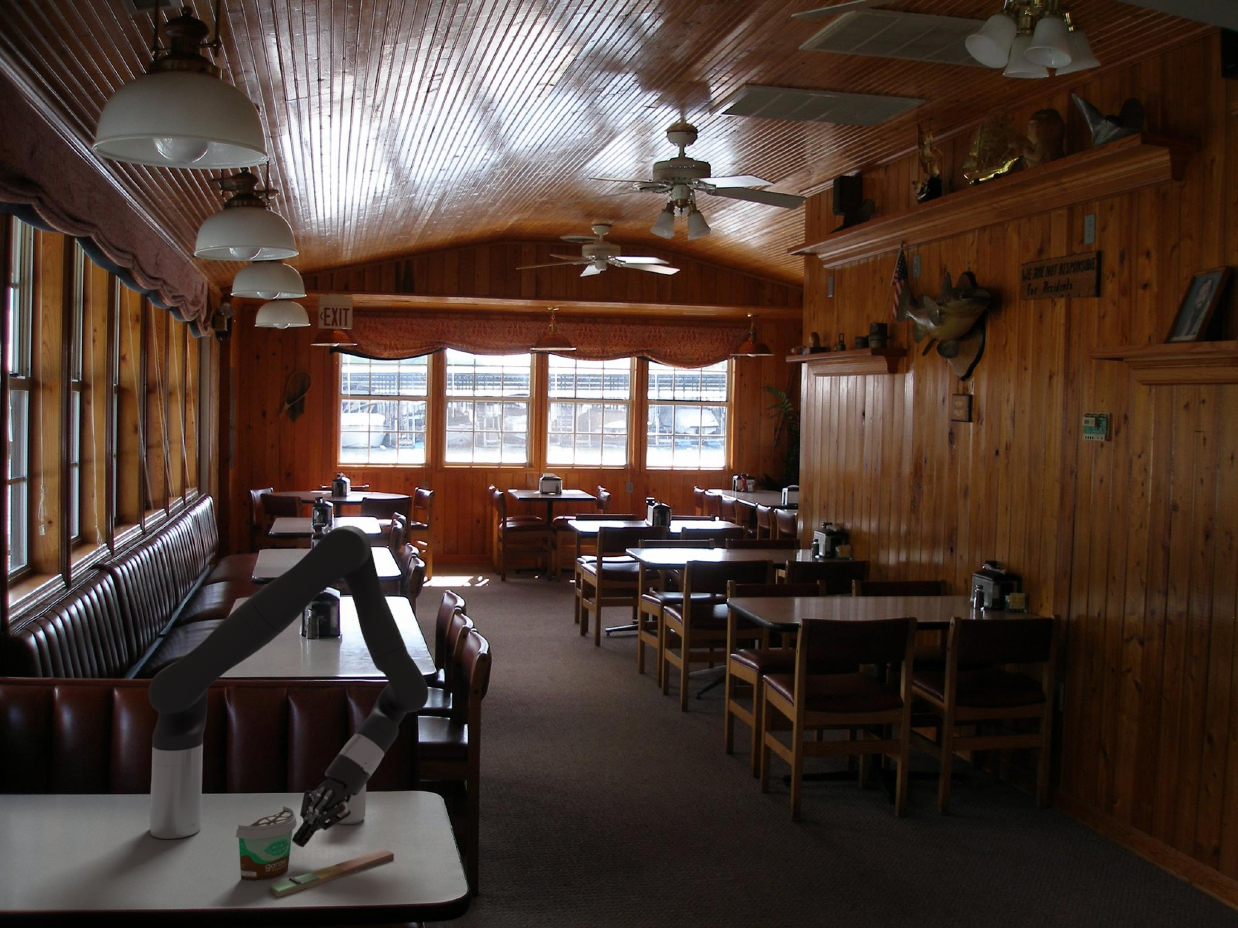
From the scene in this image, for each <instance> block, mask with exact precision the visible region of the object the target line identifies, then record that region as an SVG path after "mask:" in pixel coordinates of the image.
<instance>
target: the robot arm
mask: <svg viewBox="0 0 1238 928" xmlns="http://www.w3.org/2000/svg"><path fill="white" fill-rule="evenodd" d="M376 567H377V566H376V563H375V559H374V554H373V549H372V543H371V540H370V538H369V536H368V534H367V533H366V532H365V531H364V530H363V529H361V528H360V527H358V526H354V525H342V526H339V527H335V528H333V529H330V530H329V531H328V532H327V533H326V534H325V535H324V536H323V537H322V538H321V539H320V540H319V541H318V542H317V543H316V544H315V545H314V546H313V547H312V548H311V549H310V550H309V551H308V553H307V554H306V555H304V556H303V557H302V558H301V559H300V560H299V561H297V563H296V564H295V565H293V566H292V568H290V569H289V570H286V571H285V572H284V573H283V574H281V575H279V576H278V577H277V578H274V579H273V580H271V581H270V582H269V583H267V584H266V585H264V586H263V587H262V588H260V590H258V591H256V592H255V593H254V594H252V595H251V596H250V597H249V598H248V599H246V600H245V601H244V602H243V603H241V604H240V605H239V606H238V607H237V608H236V609H235V610H234V611H233V612H231V613H230V614H229V615H228V616H227V617H226V618H225V619H224V620H223V621H222V622H221V623H219V624H218V626H216V628H215V629H214V630H213V631H212V632H211V633H210V634H209V635H208V636H207V637H206V638H205V639H204V640H203V641H202V642H200V643H199V644H198V646H196V647H195V648H194V649H192V650H191V651H190V652H188V653H187V654H185V655H184V656H182V657H181V658H179V659H178V660H176V661H174V662H172V663H171V664H169V665H168V666H166V667H164V668H162V669H161V670H160V671H158V673H156V674H155V675H154V677H153V678H152V680H151V682H150V684H149V688H148V695H147V696H148V701H149V704H150V706H151V707H152V708H153V709H154V710H155V711H157V712H158V717H157V721H156V726H155V728H154V730H153V732H152V744H151V745H152V748H151V749H152V750H151V753H152V754H151V782H150V806H149V807H150V808H149V809H150V811H149V813H150V814H149V815H150V816H149V829H150V830H149V831H150V833H149V834H150V835H151V836H152V837H154V838H157V839H165V840H169V839H170V840H171V839H181V838H186V837H188V836H192V835H195V834H196V833H198V832H200V830H201V828H202V797H203V796H202V795H203V794H202V791H203V790H202V789H203V754H204V753H203V752H204V750H203V749H204V748H203V747H204V746H203V745H204V732H205V730H206V724H207V717H208V716H207V715H208V699H209V687H211V685H213V684H214V683H215V682H216V681H217V680H218V679H219V678H220V677H222V676H223V675H225V673H226V672H229V670H231V669H233V668H234V667H236V666H237V665H239V664H240V663H242V662H243V661H246V659H248V658H249V657H251V656H252V655H254V654H256V653H257V652H258V651H260V650H261V649H263V648H264V647H265V646H266V645H268V644H269V643H270V642H271V641H273V640H275V638H276V637H278V636H279V635H280V634H281V633H283V632H284V631H285V630H286V629H287V628H288V627H289V626H290V625H292V624H293V623H294V621H295V620H297V618H298V617H299V616H300V615H301V614H302V613H303V612H304V611H305V609H306V608H307V607H308V606H309V605H310V603H311V602H313V601H314V599H315V598H316V597H317V596H319V595H320V594H321V593H322V592H324V591H325V590H327V589H328V588H329V587H330V586H332V585H333V584H335V583H336V582H339V580H341V579H342V578H343V581H344V582H345V585H346V586H347V588H348V591H349V593H350V595H351V598H352V601H353V605H354V607H355V611H356V614H357V619H358V624H359V628H360V631H361V635H362V638H363V641H364V644H365V646H366V648H367V651H368V653H369V655H370V658H371V661H372V663H373V664H374V666H375V668H376V669H377V670H378V671H379V672H381V673H383V674H384V676H385V677H386V679H387V682H388V683H387V684H386V685H385V687H383V689H382V690H381V692H380V694H379V695H378V697H377V698H376V701H375V703H374V704H373V706H372V709H371V711H370V713H369V715H368V716H367V717H366V719H364V721H363V722H362V724H361V725H360V727H359V728H358V729H357V730H356V732H355V733H354V734H353V736H352V737H351V738H349V740H348V741H347V742H346V743H345V744H344V746H343V748H341V750H340V752H339V753H338V754H337V755H336V757H335V758H334V759H333V760H332V762H331V763H330V765H329V766H328V768H327V769H325V772H324V776H325V780H324V781H322V782H321V783H320V784H319V785H318V787H317V789H314V790H312V791H311V790H310V789H306V790H305V791H304V794H303V798H302V802H301V809H300V814H299V816H300V817H301V819H302V820H303V822H302V824H301V825H300V827H299V828H298V829H297V831H296V832H295V833H294V835H293V837H292V838H291V842H292V843H294V844H295V845H296V846H297V847H300V848H304V847H305V846H306V845H307V844H308V843H309V841H310V840H311V838H313V836H314V834H315V833H316V832H319V831H320V830H323V831H327V830H329V829H331V828H332V827H333V826H335V825H336V824H339V823H338V822H340V821H341V820H343V819H344V818H346V817H348V816H349V815H350V813H351V811H350V810H349V809H348V807H347V803H348V802H349V801H350V798H351V796H352V795H353V796H356V795H358V793H359V792H360V790H361V789H362V788H363V786H364V785H365V783H366V784H367V783H368V781H369V779H370V778H371V777H372V775H373V773H374V772H375V771H376V769H377V768H378V767H379V765H380V763H381V761H382V759H383V758H384V756H385V755H386V753H387V752H388V750H389V749H390V747H392V745H393V743H394V742H395V741H396V739H397V738H398V735H399V732H400V728H399V726H400V724H401V722H402V721H403V719H404V717H405V716H406V715H407V714H408V713H416V712H418V711H420V710H422V709H423V708H424V707H425V706H426V704H427V703H428V700H429V694H430V693H429V687H428V684H427V681H426V679H425V676H424V674H423V673H422V671H421V670H420V668H419V667H418V665H417V664H416V662H415V661H414V660H413V658H412V657H411V655H410V654H409V652H408V649H407V647H406V646H407V645H406V643H405V641H404V639H403V636H402V634H401V632H400V629H399V627H398V625H397V621H396V619H395V617H394V614H393V613H392V610H391V608H390V605H389V603H388V600H387V598H386V596H385V593H384V590H383V588H382V584H381V581H380V578H379V575H378V571H377V568H376Z"/></svg>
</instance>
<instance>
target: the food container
mask: <svg viewBox="0 0 1238 928" xmlns="http://www.w3.org/2000/svg"><path fill="white" fill-rule="evenodd" d="M297 824H298V823H297V817H296V815H295V813H294V810H293V809H291V808H289V807H288V806H285V805H284V806H283V807H282V811H280V812H278V813H277V814H274V815H269V816H265V817H262V818H260V819H258V820H257V821H255V822H254V823H252V824H249V825H241V824H238V825H237V826H238V827H237V830H236V835H235V838H238V844H239V845H238V849H239V850H238V851H239V865H240V867H239V868H240V880H242V879H243V880H244V881H252V882H258V881H259V882H260V881H267V880H274V879H275V878H278V877H281V876H283V875H284V873H285V874H286V873H287V872H288V870H289V863H290V855H291V845H292V838H293V837H292V836H293V830H294V829H295V828H296V827H297ZM243 880H242V881H243Z"/></svg>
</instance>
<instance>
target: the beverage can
mask: <svg viewBox="0 0 1238 928" xmlns="http://www.w3.org/2000/svg"><path fill="white" fill-rule="evenodd" d="M366 802H367V782H366V783H365V785H364V786H363V788H362V789H361V790H360V792H359V793H358V795H356V796H353V795H352V796H351V798H350V801H349V802H348V803H347V807H348V809H349V810H350V811H351V813H350V815H349V816H348V817H346V818H344V819H343V820H341V821H340V822H338V823H337V824H341V825H355V824H358V823H361V822H362V821H363V820H364V819H365V818H366V808H367V807H366V805H367V803H366Z"/></svg>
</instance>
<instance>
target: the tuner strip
mask: <svg viewBox="0 0 1238 928" xmlns="http://www.w3.org/2000/svg"><path fill="white" fill-rule="evenodd" d="M394 856H395V853H394V852H392V851H389V850H387V849H386V848H382V849H381V850H377V851H374V852H371V853H370V852H369V853H368V854H365V855H361V856H358V857H355V858H351V859H348V860H346V861H343V862H340V863H336V864H333V865H330V866H327V867H324V868H320V869H317V870H315V871H311V872H309V873H305V874H302V875H299V876H295V877H293V876H289V877H288V879H285V880H284V881H280V882H277V883H274V884H270V885H269V887H268V890H269V891H268V893H270V894H272V895H274V896H276V897H278V898H281V897H283V896H287V895H290V894H292V893H293V894H294V893H297V892H299V891H302V890H305V889H308V888H311V887H313V886H317V885H320V884H323V883H326V882H329V881H333V880H335V879H339V878H341V877H343V876H347V875H350V874H354V873H357V872H360V871H363V870H365V869H368V868H372V867H375V866H378V865H381V864H383V863H387V862H389V861H393V860H394V858H395V857H394ZM392 859H393V860H392ZM386 861H387V862H386ZM377 864H378V865H377ZM304 888H305V889H304Z"/></svg>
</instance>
